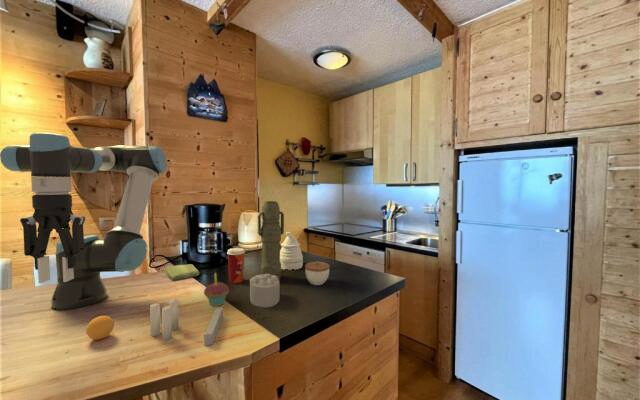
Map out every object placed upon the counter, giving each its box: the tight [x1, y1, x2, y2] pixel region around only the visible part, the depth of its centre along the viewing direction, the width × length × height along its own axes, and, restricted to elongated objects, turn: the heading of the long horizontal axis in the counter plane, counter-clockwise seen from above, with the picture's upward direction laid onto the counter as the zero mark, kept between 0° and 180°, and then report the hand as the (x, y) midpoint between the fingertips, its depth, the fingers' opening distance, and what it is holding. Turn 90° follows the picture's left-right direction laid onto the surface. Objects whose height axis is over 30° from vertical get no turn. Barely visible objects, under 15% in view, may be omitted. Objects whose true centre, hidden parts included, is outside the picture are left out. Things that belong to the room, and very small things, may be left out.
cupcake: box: [203, 271, 230, 306], centre depth 99 cm, size 9×8×12 cm
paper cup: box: [226, 247, 246, 284], centre depth 122 cm, size 8×8×14 cm
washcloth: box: [164, 263, 200, 281], centre depth 131 cm, size 13×18×3 cm
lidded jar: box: [304, 260, 331, 286], centre depth 121 cm, size 11×11×9 cm
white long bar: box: [203, 306, 224, 346], centre depth 81 cm, size 2×16×3 cm, turn 10°
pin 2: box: [168, 298, 179, 331], centre depth 82 cm, size 2×2×8 cm
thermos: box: [257, 200, 285, 281], centre depth 124 cm, size 9×12×35 cm
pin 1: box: [161, 305, 173, 341], centre depth 77 cm, size 2×2×8 cm
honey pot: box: [280, 231, 304, 271], centre depth 144 cm, size 13×13×18 cm
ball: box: [85, 315, 115, 341], centre depth 76 cm, size 6×6×6 cm
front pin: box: [149, 302, 162, 337], centre depth 79 cm, size 2×2×8 cm
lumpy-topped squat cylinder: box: [249, 273, 281, 308], centre depth 102 cm, size 10×13×9 cm
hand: (56, 280), depth 74 cm, fingers open, 5 cm apart
